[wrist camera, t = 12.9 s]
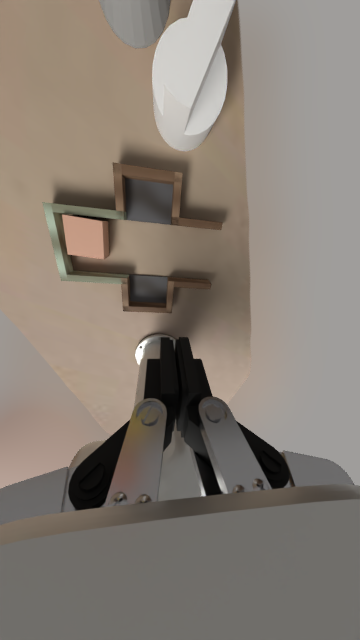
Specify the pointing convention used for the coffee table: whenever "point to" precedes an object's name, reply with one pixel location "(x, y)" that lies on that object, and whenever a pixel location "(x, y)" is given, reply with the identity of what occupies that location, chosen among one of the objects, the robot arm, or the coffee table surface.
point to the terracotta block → (86, 236)
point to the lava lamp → (136, 20)
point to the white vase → (191, 74)
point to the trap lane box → (137, 205)
